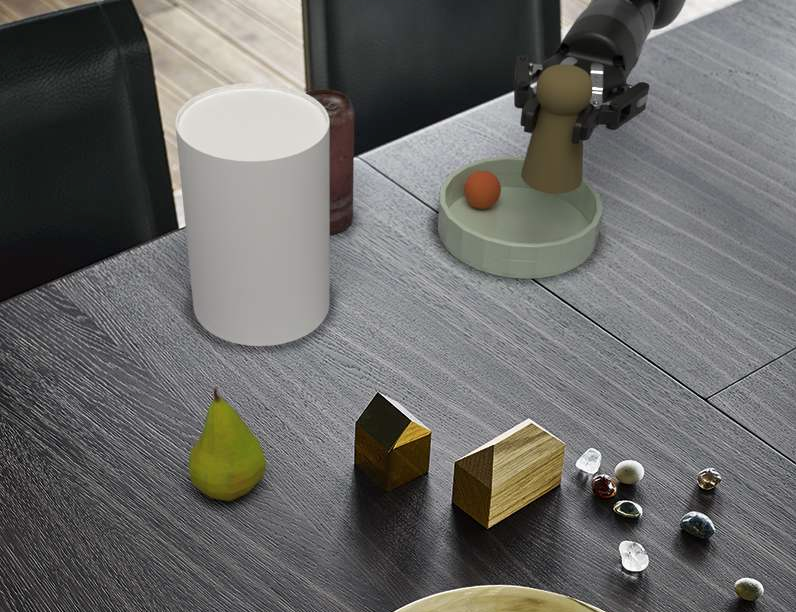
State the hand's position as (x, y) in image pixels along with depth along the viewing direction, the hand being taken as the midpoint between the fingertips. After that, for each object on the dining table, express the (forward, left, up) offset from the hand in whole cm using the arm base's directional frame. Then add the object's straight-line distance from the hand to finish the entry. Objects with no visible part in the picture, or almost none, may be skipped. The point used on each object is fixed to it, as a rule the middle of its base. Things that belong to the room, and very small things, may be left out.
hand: (552, 129), depth 116 cm
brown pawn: (-1, -3, -7) cm, 7 cm away
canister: (+27, +5, -18) cm, 33 cm away
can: (+22, -10, -18) cm, 30 cm away
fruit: (+27, +31, -18) cm, 45 cm away
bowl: (+1, -10, -18) cm, 20 cm away
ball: (+5, -14, -15) cm, 21 cm away
